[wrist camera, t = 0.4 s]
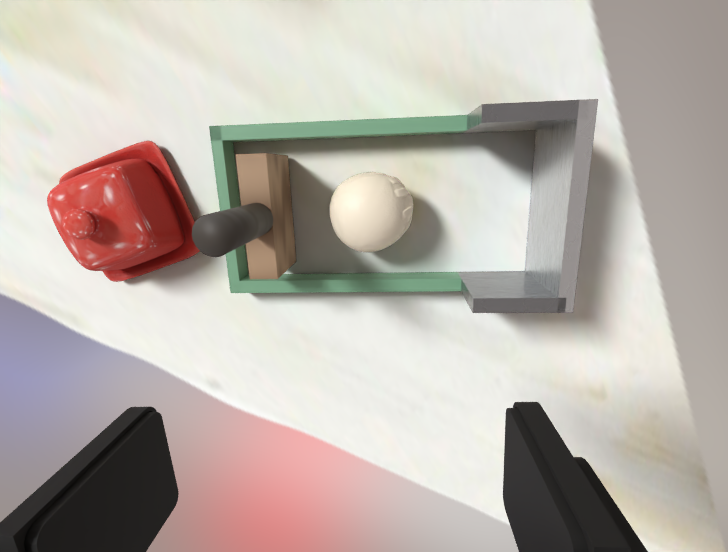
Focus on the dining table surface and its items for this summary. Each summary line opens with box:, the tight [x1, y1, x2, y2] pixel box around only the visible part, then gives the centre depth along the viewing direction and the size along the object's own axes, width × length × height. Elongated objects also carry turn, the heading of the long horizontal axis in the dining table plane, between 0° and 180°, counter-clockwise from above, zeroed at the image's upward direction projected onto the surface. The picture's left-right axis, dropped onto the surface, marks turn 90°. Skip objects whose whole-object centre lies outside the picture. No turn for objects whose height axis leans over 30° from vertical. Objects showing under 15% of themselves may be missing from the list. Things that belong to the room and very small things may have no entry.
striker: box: [192, 153, 296, 279], centre depth 30 cm, size 10×3×14 cm, turn 2°
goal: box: [458, 99, 598, 313], centre depth 32 cm, size 15×8×8 cm, turn 2°
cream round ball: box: [330, 172, 413, 252], centre depth 34 cm, size 7×7×7 cm
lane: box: [209, 115, 467, 293], centre depth 36 cm, size 15×22×2 cm
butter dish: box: [47, 141, 200, 282], centre depth 35 cm, size 12×12×8 cm
